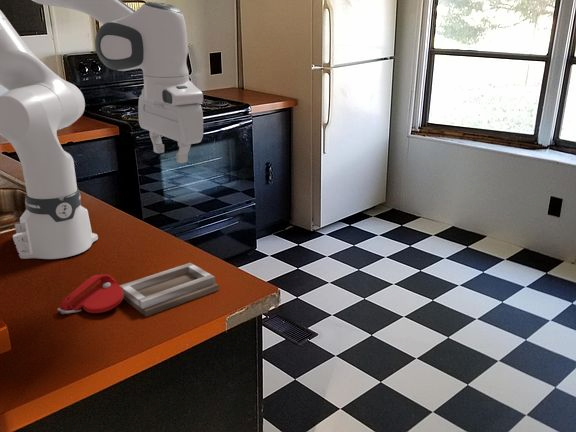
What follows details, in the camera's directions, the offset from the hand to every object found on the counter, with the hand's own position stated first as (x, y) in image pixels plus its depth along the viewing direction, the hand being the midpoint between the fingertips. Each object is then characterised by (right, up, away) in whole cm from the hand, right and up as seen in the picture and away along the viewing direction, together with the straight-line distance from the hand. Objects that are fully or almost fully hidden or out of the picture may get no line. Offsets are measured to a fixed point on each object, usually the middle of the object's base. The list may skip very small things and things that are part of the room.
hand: (170, 157), depth 124 cm
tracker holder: (-14, -30, -10) cm, 35 cm away
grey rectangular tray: (-1, -28, +1) cm, 28 cm away
